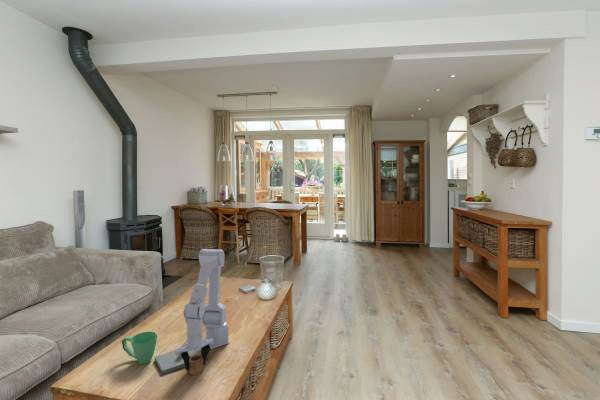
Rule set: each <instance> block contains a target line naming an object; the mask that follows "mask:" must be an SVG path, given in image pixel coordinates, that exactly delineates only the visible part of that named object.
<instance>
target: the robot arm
mask: <svg viewBox="0 0 600 400" xmlns="http://www.w3.org/2000/svg"><path fill="white" fill-rule="evenodd" d="M225 256H226V255H225V252H224V250H223V249H212V248H211V249H207V248H201V249H200V251H199V254H198V262H199V265H200V268H199V273H198V279H197V284H194V285H193V288H192V289H191V290H192V291H191V294H190V298H189V301H188V303H187V304H185V306H184V309H183V318H184V319H185V324H186V344H184V345H182V346H179V347H180V348H179V347H178V348H175V350H174V351H175V354H176V356H179V355H181V356H182V358H183V361H184V363H185V367H184V368H185V370H186V372H187V371H189V359H190V356H189V355H188V352H189V351H193V350H195V351H198V350H201V355H202V356H203V367H204V366H206V361H207V359H206V358H207V356H208V355H209V353H210V351H211V350H214V349H217V348H219V347H222V346H226V345H228V344H230V342H229V326H228V324H227V322H226V321H227V312H226V311H227V310H226V306H225V305H224V304H222V303H221V302H220V300H221V299H220V298H221V295H220V294H221V271H222V267H225ZM207 284H208V287H207ZM207 293H208V303H207V304H206V298H207ZM203 325H204V327H205V337H206V338H204V339H203ZM208 357H209V356H208Z"/></svg>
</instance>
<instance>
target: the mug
mask: <svg viewBox="0 0 600 400" xmlns="http://www.w3.org/2000/svg"><path fill="white" fill-rule="evenodd" d="M127 341H128V342H130V343H131V347H130V346H128V345H129V344H128V343H127ZM157 341H158V333H156V332H155V331H143V332H140V333H137V334H135V335H133V336H125V337H124V338H123V339H122V340H121V343H122V350H124V351H125V352H126V354H128V356H130V357H131V358H134V359H136V360H137V363H138V364H141V365H145V364H149V362H151V361H152V359H153V357H154V354H155V350H156V345H157ZM131 348H132V349H131Z"/></svg>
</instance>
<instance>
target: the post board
mask: <svg viewBox="0 0 600 400" xmlns="http://www.w3.org/2000/svg"><path fill="white" fill-rule="evenodd" d="M180 347H181V346H178V348H180ZM195 354H200V355H201V350H198V351H195V350H193V351H189V352H188V355H189V356H192V355H195ZM206 360H209V356H207V358H206ZM154 362H155V363H156V365H157V367H158V369H159V371H160V372H161V375H165V374H169V373H171V372H175V371H177V370H179V369H182V368H186V367H185V363H184V361H183V358H182V356H181V355H179V356H176V354H175V350H173V351H169V352H166V353H164V354H163V353H162V354H159V355H157V356H154Z"/></svg>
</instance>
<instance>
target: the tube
mask: <svg viewBox="0 0 600 400" xmlns="http://www.w3.org/2000/svg"><path fill="white" fill-rule="evenodd" d="M204 369H205V368H204V366H203V356H202V355H200V354H195V355H192V356H190V359H189V371H187V370H186V372H187V374H188V375H190V376H191V375H192V376H196V375H199V374H202V372H203V371H204Z"/></svg>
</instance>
